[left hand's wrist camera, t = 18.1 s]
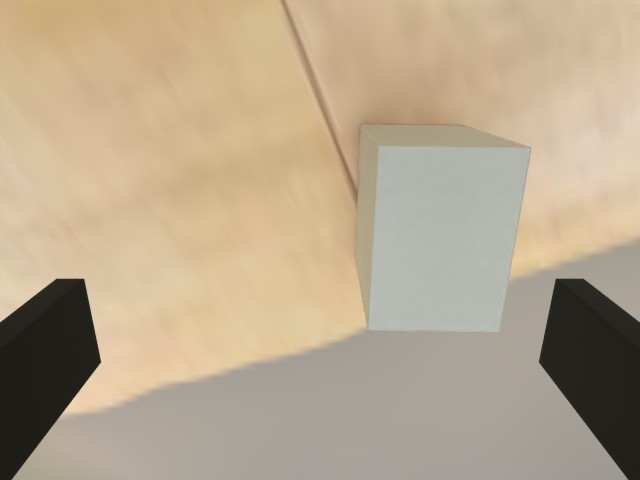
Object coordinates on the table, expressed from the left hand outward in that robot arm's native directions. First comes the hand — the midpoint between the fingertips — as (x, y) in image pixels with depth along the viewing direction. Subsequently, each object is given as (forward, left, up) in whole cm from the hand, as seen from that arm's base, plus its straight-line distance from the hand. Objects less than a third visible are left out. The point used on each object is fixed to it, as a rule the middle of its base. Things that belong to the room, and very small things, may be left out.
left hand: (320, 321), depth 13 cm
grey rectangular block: (+5, +1, -16) cm, 17 cm away
